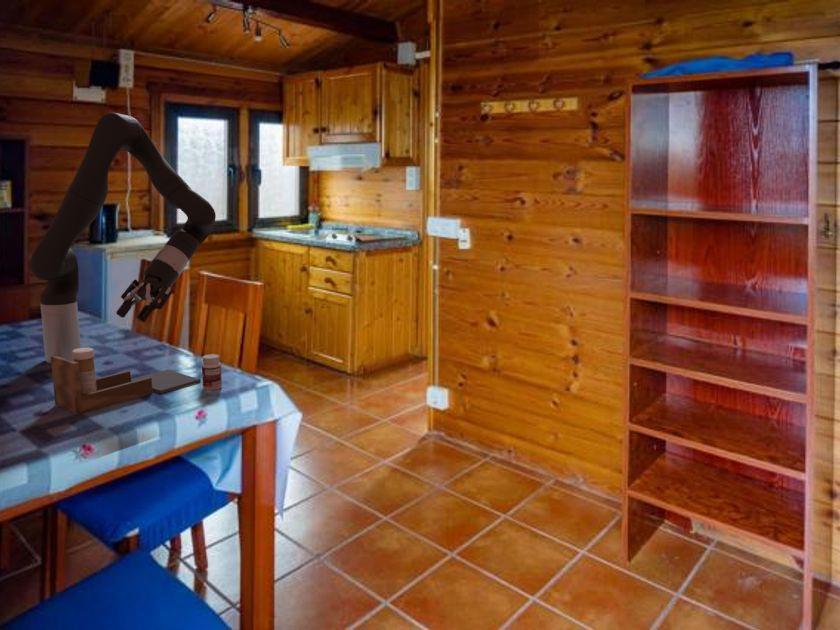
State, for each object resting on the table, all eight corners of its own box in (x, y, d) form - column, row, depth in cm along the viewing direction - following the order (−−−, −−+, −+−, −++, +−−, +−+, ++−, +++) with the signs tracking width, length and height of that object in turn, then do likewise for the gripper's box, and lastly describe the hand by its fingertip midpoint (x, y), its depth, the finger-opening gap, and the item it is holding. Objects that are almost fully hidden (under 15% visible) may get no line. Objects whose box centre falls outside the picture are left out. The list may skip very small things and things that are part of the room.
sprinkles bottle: (80, 401, 161) (75, 347, 158) (100, 400, 162) (96, 346, 159) (74, 407, 156) (69, 352, 154) (95, 406, 157) (90, 351, 155)
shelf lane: (55, 405, 158) (50, 356, 155) (129, 385, 173) (125, 340, 171) (78, 414, 152) (74, 363, 150) (152, 393, 168) (149, 346, 165)
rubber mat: (128, 383, 175) (127, 380, 175) (167, 372, 185) (167, 369, 185) (160, 393, 167) (160, 390, 167) (200, 382, 177) (200, 379, 177)
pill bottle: (205, 384, 175) (203, 353, 173) (223, 384, 176) (222, 353, 174) (200, 390, 171) (199, 358, 169) (219, 390, 171) (218, 358, 169)
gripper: (140, 255, 173) (102, 305, 166) (174, 259, 165) (136, 312, 159) (159, 273, 179) (123, 322, 172) (193, 278, 171) (157, 330, 164)
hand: (129, 317), depth 165 cm, fingers open, 8 cm apart
